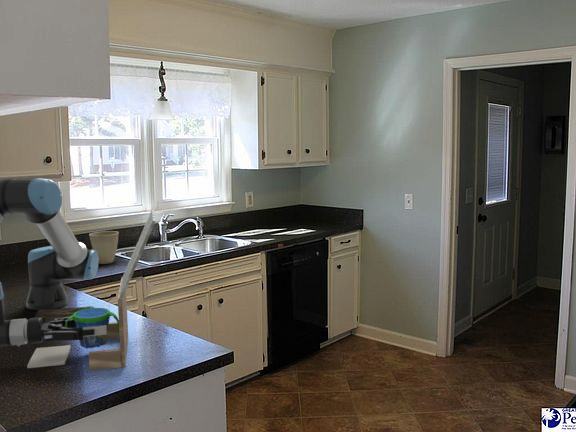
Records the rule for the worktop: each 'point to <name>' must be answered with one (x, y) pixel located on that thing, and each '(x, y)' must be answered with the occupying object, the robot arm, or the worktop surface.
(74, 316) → the snack cup
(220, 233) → the worktop surface
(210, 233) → the worktop surface
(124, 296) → the tan tall piece
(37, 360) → the paving slab
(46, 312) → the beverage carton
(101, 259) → the plant pot
